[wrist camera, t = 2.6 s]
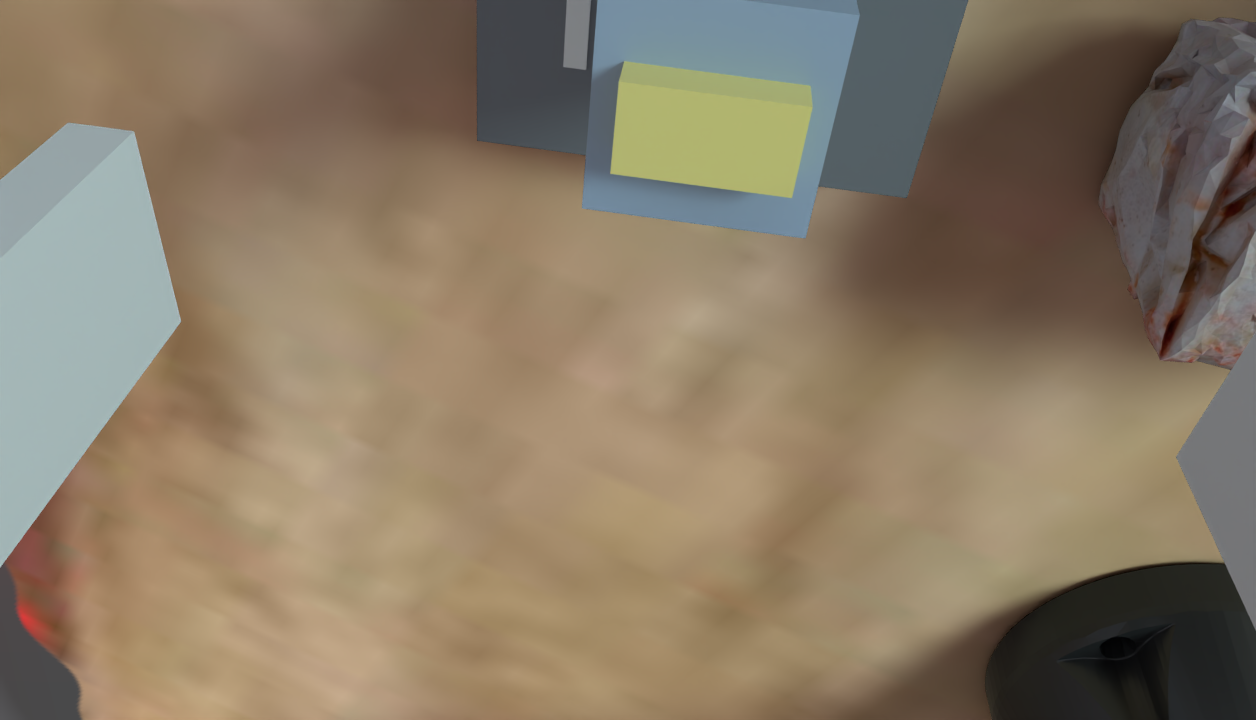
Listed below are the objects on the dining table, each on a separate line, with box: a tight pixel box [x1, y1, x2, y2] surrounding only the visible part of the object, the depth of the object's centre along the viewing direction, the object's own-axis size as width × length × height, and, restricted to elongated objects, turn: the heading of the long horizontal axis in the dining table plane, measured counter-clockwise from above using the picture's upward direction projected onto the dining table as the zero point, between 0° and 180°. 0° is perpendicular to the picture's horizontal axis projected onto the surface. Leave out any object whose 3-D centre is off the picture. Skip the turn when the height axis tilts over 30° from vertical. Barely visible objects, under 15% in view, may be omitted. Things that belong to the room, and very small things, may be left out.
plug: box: [582, 0, 860, 238], centre depth 21 cm, size 4×4×13 cm
